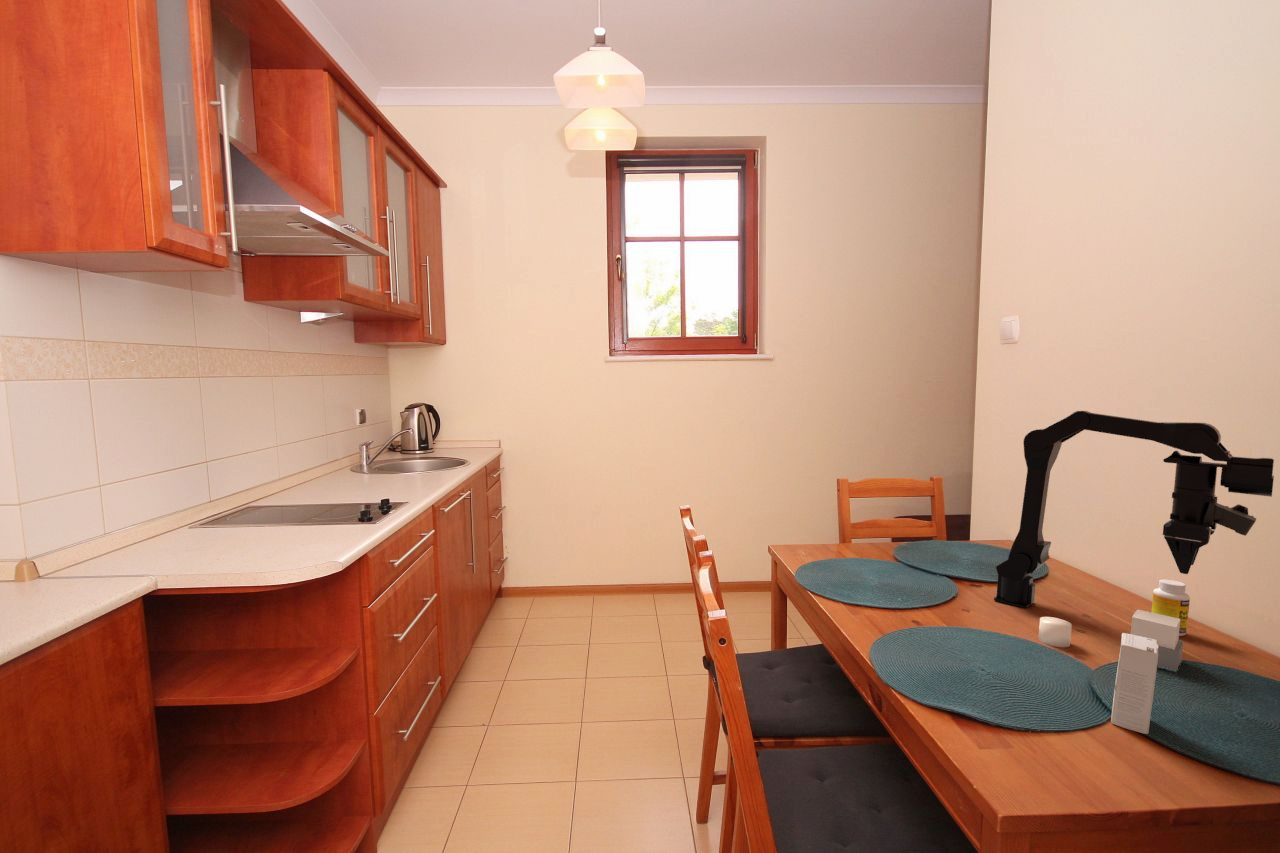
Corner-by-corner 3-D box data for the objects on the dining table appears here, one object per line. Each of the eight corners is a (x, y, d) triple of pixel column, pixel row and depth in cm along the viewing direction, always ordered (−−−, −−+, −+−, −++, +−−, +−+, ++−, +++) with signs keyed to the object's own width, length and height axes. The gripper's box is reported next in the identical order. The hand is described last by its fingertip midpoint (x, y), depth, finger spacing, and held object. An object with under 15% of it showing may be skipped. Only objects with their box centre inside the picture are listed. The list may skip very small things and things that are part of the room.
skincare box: (1112, 708, 91) (1118, 630, 90) (1151, 719, 88) (1158, 639, 87) (1110, 725, 86) (1117, 643, 85) (1151, 737, 83) (1159, 652, 82)
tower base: (1125, 660, 108) (1126, 638, 108) (1131, 649, 113) (1133, 628, 113) (1176, 674, 103) (1178, 652, 103) (1181, 662, 108) (1183, 641, 107)
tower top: (1130, 638, 108) (1132, 616, 108) (1135, 630, 112) (1137, 609, 112) (1174, 649, 104) (1176, 627, 103) (1178, 640, 108) (1180, 618, 107)
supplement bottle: (1181, 639, 118) (1185, 588, 117) (1145, 629, 122) (1150, 580, 122) (1190, 633, 121) (1195, 584, 120) (1155, 624, 125) (1159, 576, 125)
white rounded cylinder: (1035, 641, 115) (1036, 620, 115) (1042, 634, 118) (1043, 614, 118) (1066, 650, 111) (1068, 629, 111) (1072, 642, 115) (1074, 622, 114)
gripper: (1253, 500, 101) (1244, 590, 102) (1256, 490, 114) (1248, 570, 115) (1166, 490, 110) (1158, 574, 111) (1178, 482, 122) (1171, 556, 123)
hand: (1186, 569), depth 115 cm, fingers open, 9 cm apart
